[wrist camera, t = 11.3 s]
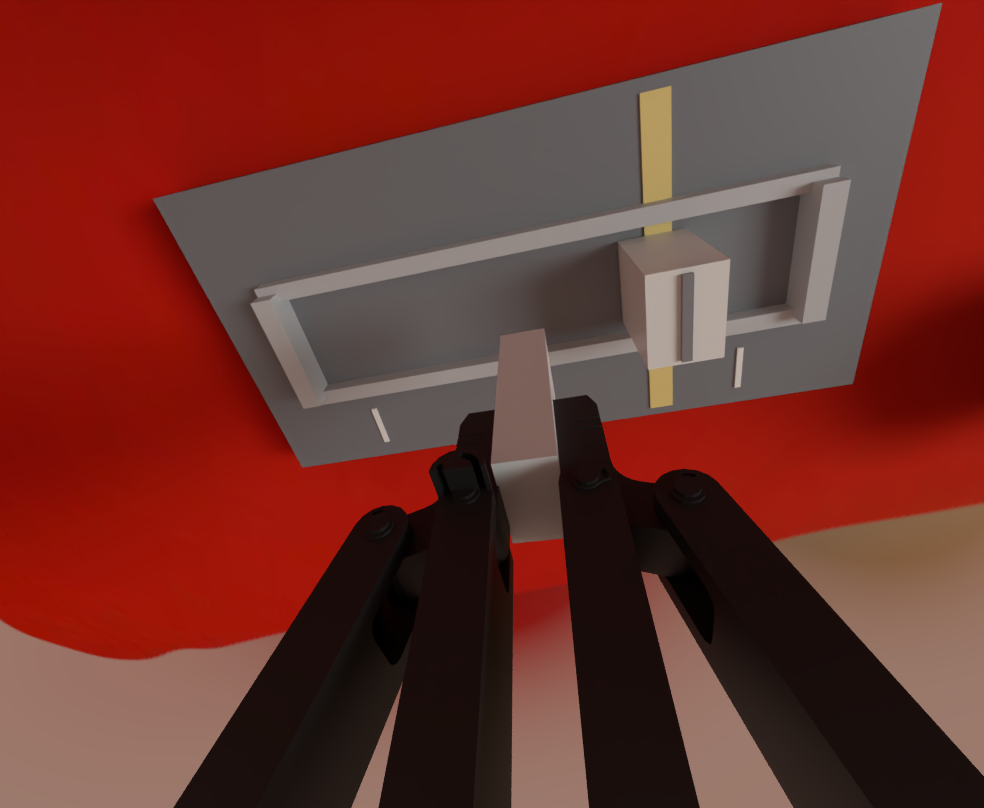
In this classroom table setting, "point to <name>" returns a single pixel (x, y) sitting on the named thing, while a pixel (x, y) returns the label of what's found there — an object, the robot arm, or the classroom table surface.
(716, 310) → the fader tab
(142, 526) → the classroom table surface
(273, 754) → the robot arm
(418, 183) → the panel
